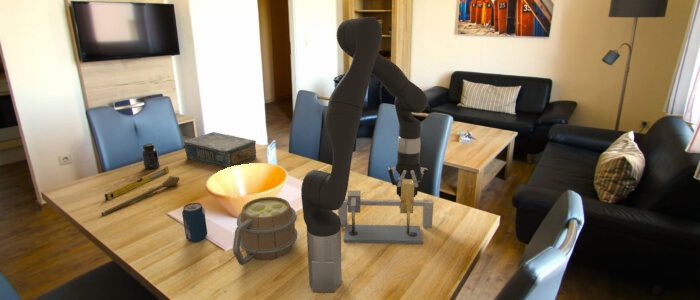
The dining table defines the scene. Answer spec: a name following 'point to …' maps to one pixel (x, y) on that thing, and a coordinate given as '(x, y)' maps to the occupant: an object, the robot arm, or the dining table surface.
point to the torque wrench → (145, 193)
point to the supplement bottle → (150, 157)
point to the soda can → (194, 222)
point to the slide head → (407, 199)
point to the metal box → (220, 149)
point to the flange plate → (383, 234)
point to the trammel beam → (355, 204)
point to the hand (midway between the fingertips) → (406, 195)
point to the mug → (265, 229)
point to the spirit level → (135, 183)
